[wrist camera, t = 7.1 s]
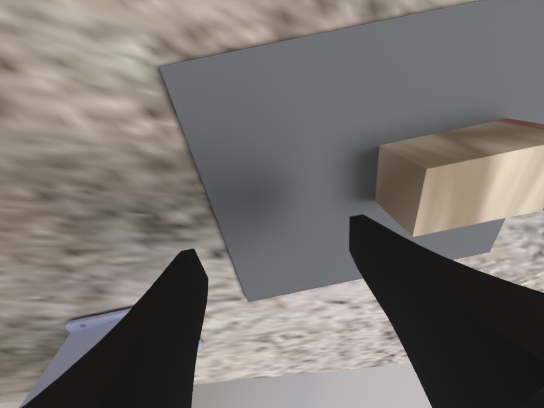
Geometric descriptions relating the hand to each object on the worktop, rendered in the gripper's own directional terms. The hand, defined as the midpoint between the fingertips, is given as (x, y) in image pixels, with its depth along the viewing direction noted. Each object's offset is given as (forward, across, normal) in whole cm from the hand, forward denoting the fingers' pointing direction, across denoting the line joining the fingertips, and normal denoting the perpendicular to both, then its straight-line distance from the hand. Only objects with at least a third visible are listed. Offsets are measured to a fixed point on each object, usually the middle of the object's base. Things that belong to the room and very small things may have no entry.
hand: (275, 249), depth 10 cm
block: (+3, -7, 0) cm, 8 cm away
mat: (+5, -7, +1) cm, 9 cm away
